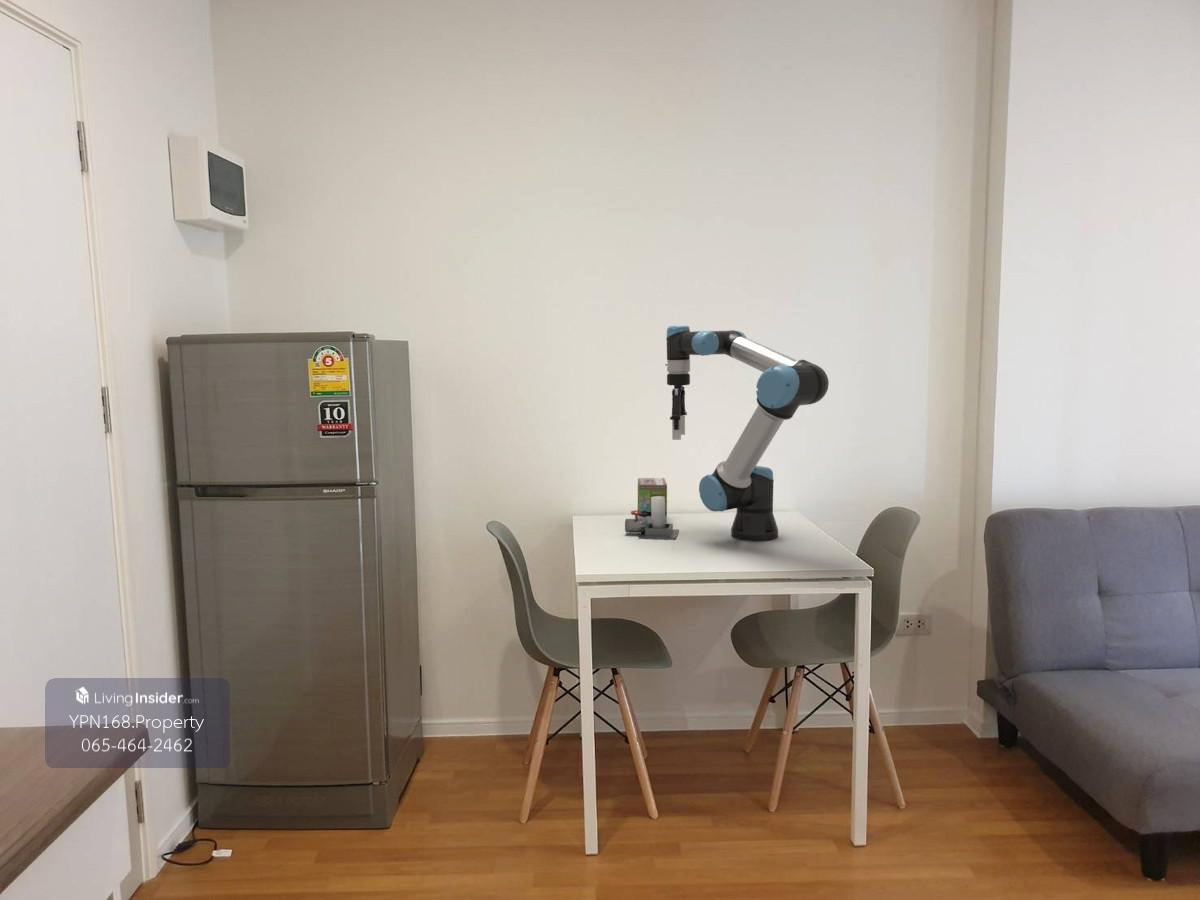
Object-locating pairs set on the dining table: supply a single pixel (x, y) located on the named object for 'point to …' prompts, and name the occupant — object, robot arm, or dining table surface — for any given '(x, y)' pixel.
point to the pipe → (658, 511)
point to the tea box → (650, 495)
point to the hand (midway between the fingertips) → (678, 437)
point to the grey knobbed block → (649, 528)
